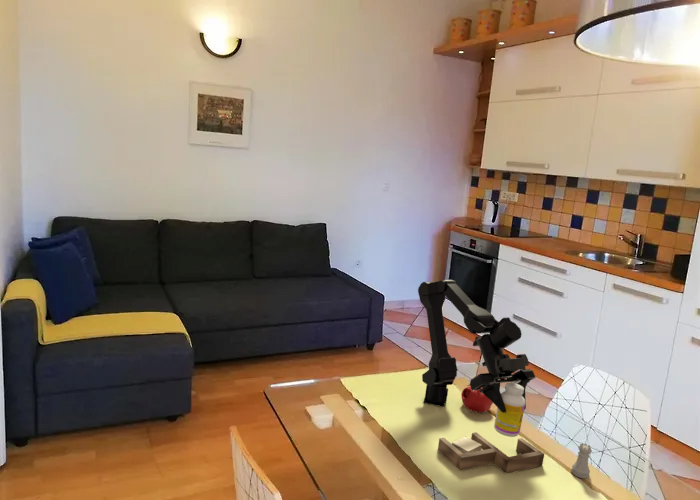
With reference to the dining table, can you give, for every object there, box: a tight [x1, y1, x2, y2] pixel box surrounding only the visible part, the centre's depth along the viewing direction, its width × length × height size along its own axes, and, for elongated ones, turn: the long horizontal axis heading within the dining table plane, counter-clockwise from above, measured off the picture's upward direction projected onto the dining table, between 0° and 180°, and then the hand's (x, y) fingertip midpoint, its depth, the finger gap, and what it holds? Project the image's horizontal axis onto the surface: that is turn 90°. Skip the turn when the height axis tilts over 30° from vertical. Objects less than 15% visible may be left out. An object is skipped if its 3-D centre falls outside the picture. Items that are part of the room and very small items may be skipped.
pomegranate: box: [461, 384, 494, 413], centre depth 166 cm, size 10×10×9 cm
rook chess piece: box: [570, 442, 593, 480], centre depth 134 cm, size 4×4×8 cm
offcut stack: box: [451, 436, 483, 454], centre depth 137 cm, size 6×7×4 cm
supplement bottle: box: [493, 382, 526, 438], centre depth 139 cm, size 7×7×13 cm
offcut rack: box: [437, 432, 545, 475], centre depth 137 cm, size 14×24×4 cm, turn 116°
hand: (514, 410), depth 137 cm, fingers closed on supplement bottle, 7 cm apart
